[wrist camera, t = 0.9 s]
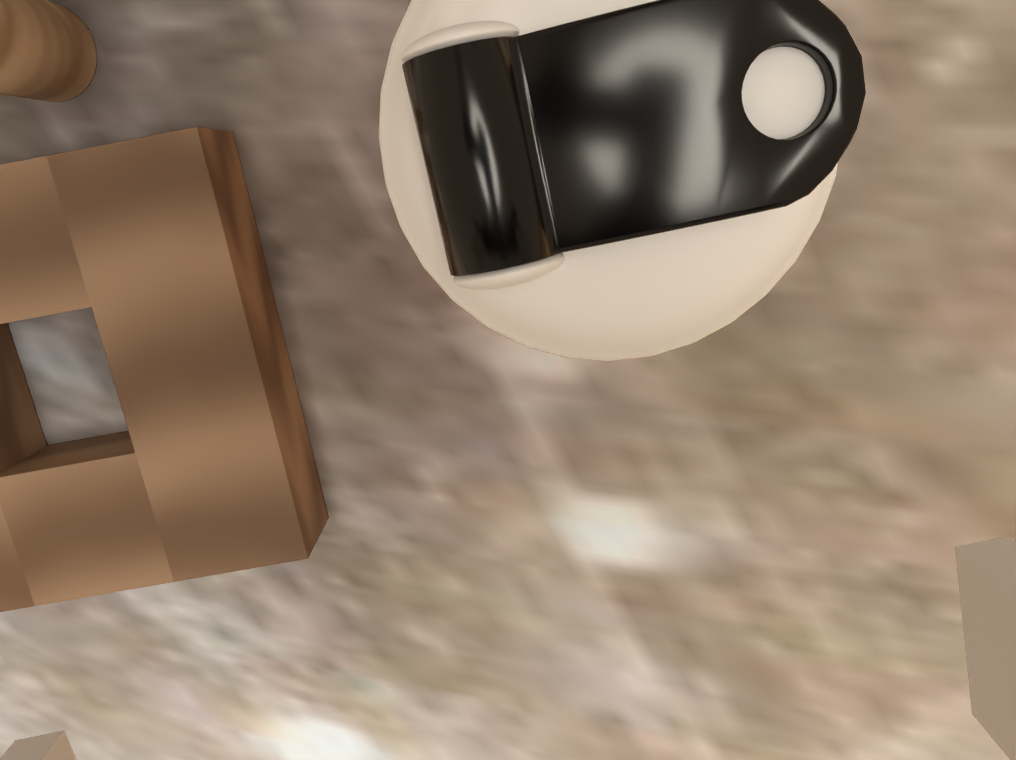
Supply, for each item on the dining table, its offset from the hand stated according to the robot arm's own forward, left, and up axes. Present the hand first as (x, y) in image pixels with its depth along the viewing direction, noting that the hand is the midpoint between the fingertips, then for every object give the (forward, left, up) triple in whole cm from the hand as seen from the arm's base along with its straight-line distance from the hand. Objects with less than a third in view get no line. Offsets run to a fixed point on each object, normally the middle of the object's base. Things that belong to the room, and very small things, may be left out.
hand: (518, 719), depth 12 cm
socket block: (-3, -17, -23) cm, 29 cm away
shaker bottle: (-8, +3, -23) cm, 25 cm away
